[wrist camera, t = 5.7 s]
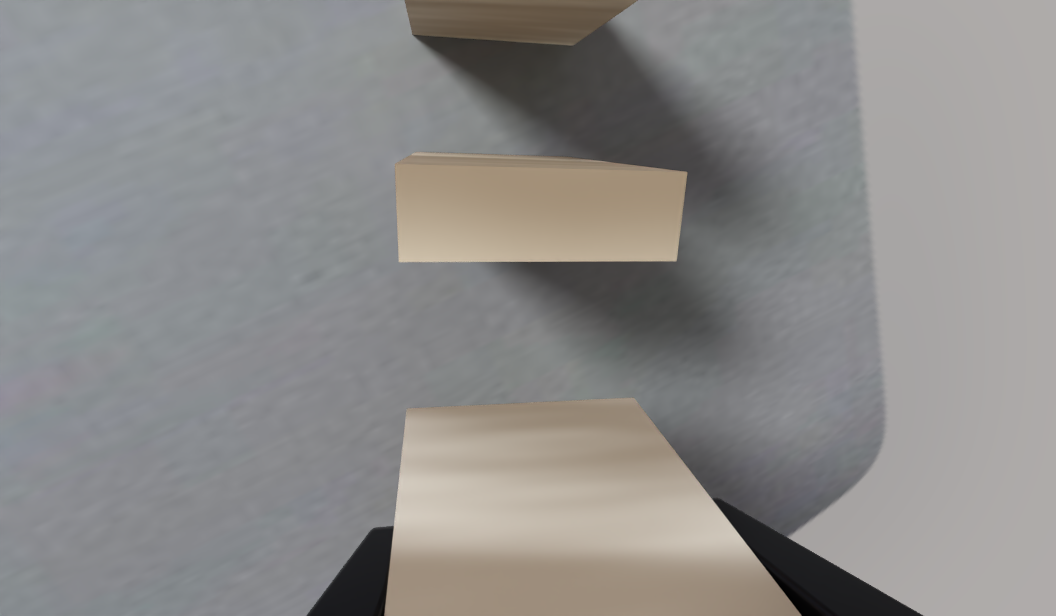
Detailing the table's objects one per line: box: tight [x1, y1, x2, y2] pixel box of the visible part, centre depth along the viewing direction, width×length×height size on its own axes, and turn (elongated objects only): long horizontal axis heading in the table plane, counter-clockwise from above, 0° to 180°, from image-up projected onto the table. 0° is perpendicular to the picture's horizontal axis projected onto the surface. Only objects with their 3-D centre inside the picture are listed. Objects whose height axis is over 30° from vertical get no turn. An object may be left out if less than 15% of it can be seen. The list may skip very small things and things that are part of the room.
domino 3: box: [384, 398, 802, 616], centre depth 7 cm, size 2×5×9 cm, turn 88°
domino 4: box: [395, 152, 687, 262], centre depth 13 cm, size 2×5×9 cm, turn 88°
